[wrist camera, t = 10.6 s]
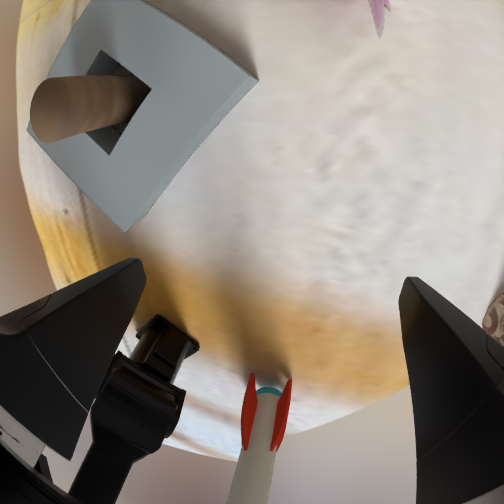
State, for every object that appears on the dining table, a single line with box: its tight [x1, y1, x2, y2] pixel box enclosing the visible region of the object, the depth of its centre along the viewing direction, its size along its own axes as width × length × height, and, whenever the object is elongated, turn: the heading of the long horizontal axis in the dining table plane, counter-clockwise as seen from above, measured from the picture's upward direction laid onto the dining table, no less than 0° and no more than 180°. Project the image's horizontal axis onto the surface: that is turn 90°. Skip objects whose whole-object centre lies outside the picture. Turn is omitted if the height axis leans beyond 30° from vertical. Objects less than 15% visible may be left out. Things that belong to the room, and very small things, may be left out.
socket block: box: [27, 0, 259, 233], centre depth 17 cm, size 15×15×4 cm
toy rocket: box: [226, 373, 292, 504], centre depth 21 cm, size 6×6×30 cm
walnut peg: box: [30, 75, 150, 143], centre depth 15 cm, size 4×4×9 cm
